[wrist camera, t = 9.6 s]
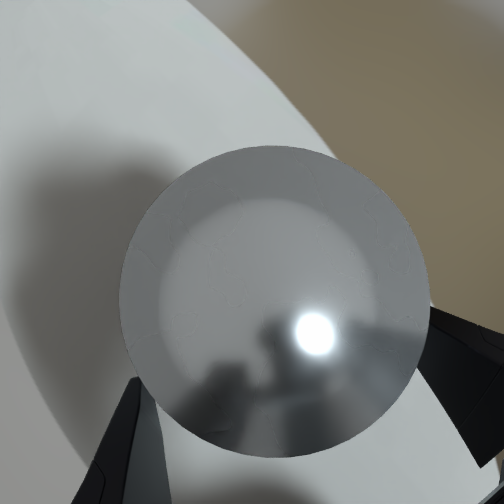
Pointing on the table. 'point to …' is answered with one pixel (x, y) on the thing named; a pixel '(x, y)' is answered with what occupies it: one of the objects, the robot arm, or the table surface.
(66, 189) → the table surface
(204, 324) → the grey cup
